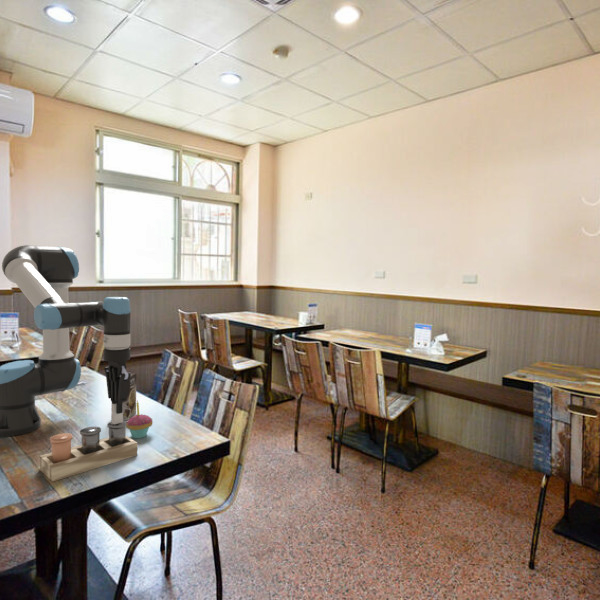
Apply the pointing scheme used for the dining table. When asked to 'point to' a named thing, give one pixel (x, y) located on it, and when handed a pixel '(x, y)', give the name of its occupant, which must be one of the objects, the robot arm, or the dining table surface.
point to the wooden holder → (87, 459)
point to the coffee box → (130, 399)
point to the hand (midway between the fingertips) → (117, 422)
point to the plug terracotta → (61, 447)
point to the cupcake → (139, 424)
